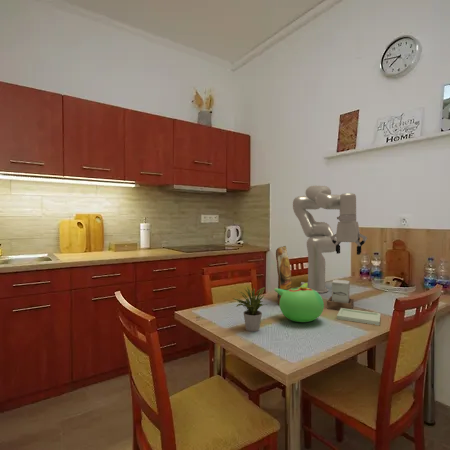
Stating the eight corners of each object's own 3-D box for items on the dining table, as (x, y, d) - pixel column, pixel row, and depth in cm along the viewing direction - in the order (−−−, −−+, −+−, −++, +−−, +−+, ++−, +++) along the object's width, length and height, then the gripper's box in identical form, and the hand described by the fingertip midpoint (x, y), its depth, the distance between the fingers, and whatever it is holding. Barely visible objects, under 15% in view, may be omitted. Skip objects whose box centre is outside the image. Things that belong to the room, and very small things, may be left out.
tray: (336, 318, 127) (336, 315, 127) (340, 311, 138) (340, 307, 138) (379, 325, 120) (379, 321, 120) (380, 316, 130) (380, 313, 130)
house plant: (249, 318, 127) (249, 280, 127) (278, 326, 119) (278, 285, 118) (227, 328, 116) (227, 286, 116) (258, 337, 108) (258, 292, 107)
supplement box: (331, 308, 142) (331, 281, 142) (333, 304, 149) (333, 278, 148) (348, 310, 139) (348, 283, 138) (349, 306, 145) (350, 280, 145)
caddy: (327, 308, 142) (327, 301, 142) (330, 303, 151) (331, 296, 151) (351, 312, 137) (351, 304, 137) (353, 306, 146) (353, 298, 146)
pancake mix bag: (270, 305, 147) (271, 247, 147) (284, 296, 164) (285, 244, 163) (284, 307, 144) (284, 248, 143) (297, 298, 160) (297, 245, 159)
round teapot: (290, 329, 115) (290, 291, 115) (272, 315, 131) (272, 282, 131) (331, 325, 120) (332, 288, 120) (308, 312, 136) (309, 279, 136)
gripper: (327, 219, 151) (327, 253, 150) (364, 218, 139) (364, 255, 139) (333, 219, 156) (333, 252, 156) (369, 218, 145) (369, 254, 145)
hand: (348, 253), depth 148 cm, fingers open, 9 cm apart
